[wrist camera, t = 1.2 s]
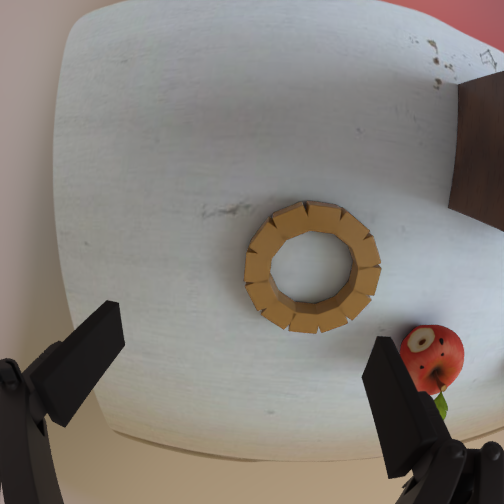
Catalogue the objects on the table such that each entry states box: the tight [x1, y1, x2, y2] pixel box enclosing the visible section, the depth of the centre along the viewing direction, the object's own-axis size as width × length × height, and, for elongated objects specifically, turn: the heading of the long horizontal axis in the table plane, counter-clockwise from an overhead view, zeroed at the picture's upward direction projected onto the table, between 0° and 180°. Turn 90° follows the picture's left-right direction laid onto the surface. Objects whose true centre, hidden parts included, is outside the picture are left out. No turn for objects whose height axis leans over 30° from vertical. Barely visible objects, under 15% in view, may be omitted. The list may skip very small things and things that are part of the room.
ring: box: [244, 201, 381, 334], centre depth 23 cm, size 11×11×2 cm
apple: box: [400, 325, 464, 420], centre depth 21 cm, size 8×7×10 cm
